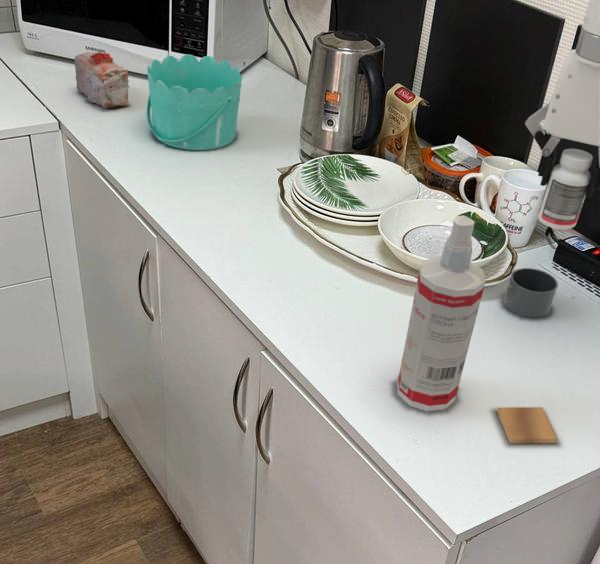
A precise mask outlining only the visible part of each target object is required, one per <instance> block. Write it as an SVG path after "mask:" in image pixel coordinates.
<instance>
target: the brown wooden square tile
mask: <svg viewBox="0 0 600 564" xmlns="http://www.w3.org/2000/svg"><path fill="white" fill-rule="evenodd" d="M496 413H497V416H498V419H499V422H500V423H501V425H502V428H503V430H504V433H505V435H506V438H507V440H508V443H509V444H512V445H513V444H514V445H515V444H517V445H518V444H557V442H558V437H557V435H556V432H555V430H554V428H553V426H552V424H551V422H550V420H549V418H548V415H547V414H546V412H545V410H544V408H543V407H542V406H541V407H540V406H539V407H537V406H536V407H533V406H532V407H530V406H529V407H525V406H524V407H515V406H514V407H511V406H510V407H497V409H496Z"/></svg>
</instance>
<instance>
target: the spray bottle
mask: <svg viewBox="0 0 600 564" xmlns="http://www.w3.org/2000/svg"><path fill="white" fill-rule="evenodd" d="M474 227H475V221H474V220H473V219H472V218H470V217H468V216H466V215H464V214H463V215H457V216H455V218H454V219H453V223H452V227H451V232H450V235H449V236H448V238H446V241H445V242H444V246H443V250H442V252H441V256H431V257H429V258H427V260H425V261H424V262H422V263H420V265H419V270H418V276H417V280H416V285H415V292H414V296H413V301H412V307H411V311H410V317H409V321H408V327H407V332H406V337H405V341H404V342H405V343H404V348H403V352H402V358H401V363H400V369H399V373H398V379H397V396H398V397H399V398H400V399H401V400H402V401H403V402H405V403H406V405H408V406H409V407H411V408H414V409H418V410H421V411H424V412H435V411H445V410H447V408H449V407H450V406H451V405H452V404H453V403H454V402H456V398H457V395H458V390H459V386H460V382H461V378H462V375H463V370H464V367H465V364H466V359H467V355H468V352H469V349H470V344H471V339H472V336H473V332H474V328H475V325H476V320H477V316H478V312H479V308H480V305H481V301H482V297H483V294H484V289H485V286H486V282H487V280H486V276H485V271H484V269H483V268H481V267H479V266H478V265H477V264H475V263H473V262H472V261H471V260H472V254H473V240H472V236H473V231H474Z"/></svg>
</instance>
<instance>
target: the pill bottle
mask: <svg viewBox="0 0 600 564" xmlns="http://www.w3.org/2000/svg"><path fill="white" fill-rule="evenodd" d="M593 159H594V156H593V155H592V154H591V153H589V152H588V151H585V150H582V149H578V148H566V149H563V151H562V153H561V155H560V158H559V163H558V164H556V165H554V166H553V168H552V170H551V172H550V175H549V179H548V182H547V184H546V185H545V190H544V193H543V195H542V199H541V203H540V206H539V208H538V213H537V218H538V220H539V222H540V223H541V224H543V225H545V226H547V227H548V228H551V229H555V230H560V231H561V230H570V229H573V228H574V227H576V225H577V223H578V220H579V217H580V215H581V211H582V208H583V206H584V202H585V199H586V198H587V196H586V192H587V189H588V186H589V183H590V179H591V176H592V174H591V172H590V171H589V170H590V168H591V166H592V163H593Z"/></svg>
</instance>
